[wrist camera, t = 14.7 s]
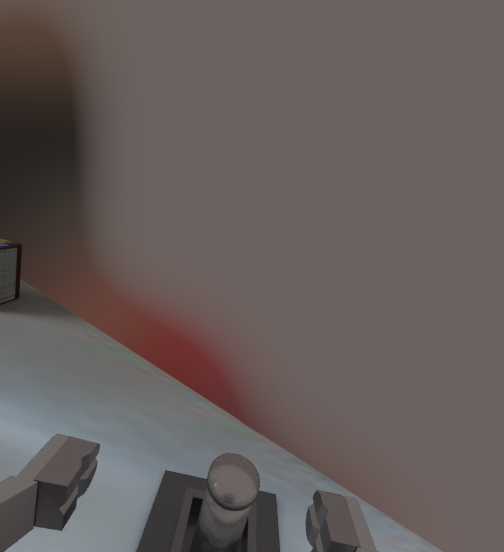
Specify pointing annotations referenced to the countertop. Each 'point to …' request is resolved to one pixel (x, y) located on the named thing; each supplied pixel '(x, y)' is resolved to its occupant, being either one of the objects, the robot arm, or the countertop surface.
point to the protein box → (9, 270)
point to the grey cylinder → (225, 504)
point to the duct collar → (185, 511)
